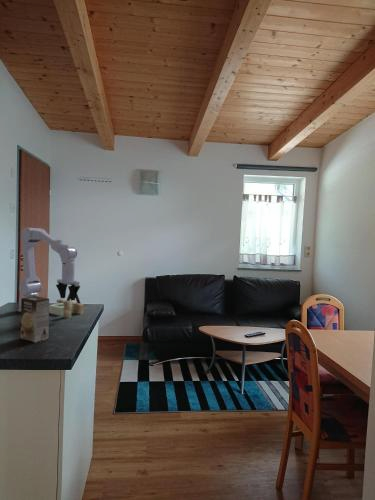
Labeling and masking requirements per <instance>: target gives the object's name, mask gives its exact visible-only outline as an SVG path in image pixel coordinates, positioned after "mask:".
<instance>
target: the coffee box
mask: <svg viewBox="0 0 375 500" xmlns="http://www.w3.org/2000/svg"><path fill="white" fill-rule="evenodd" d="M49 305H50V298H47V297H44V296H43V297H42V296H39V295H38V296H32V297H26V298H21V312H20V316H21V317H20V339H22V340H26V341H28V340H29V342H31V341H32V342H31V343H38V341H39V342H41V340H42V341H45V340H49V325H50V324H49V323H50V322H49V321H50V318H49V317H50V313H49Z"/></svg>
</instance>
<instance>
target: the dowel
mask: <svg viewBox="0 0 375 500" xmlns="http://www.w3.org/2000/svg"><path fill="white" fill-rule="evenodd" d="M72 302H73V300H72V301H71V300H70V301H64V315H63V319H71V318H72V313H71V310H72Z"/></svg>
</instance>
